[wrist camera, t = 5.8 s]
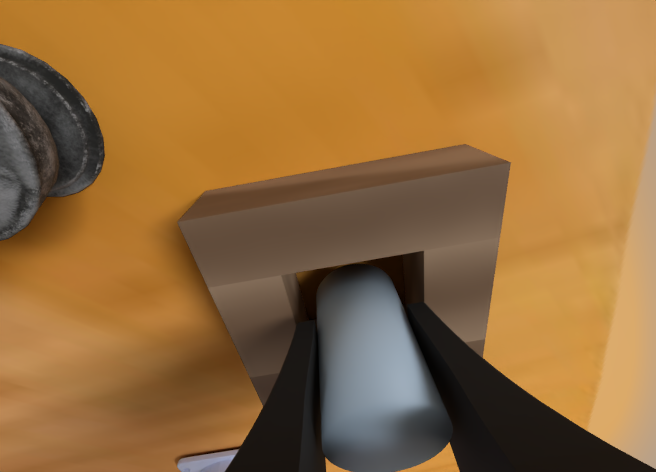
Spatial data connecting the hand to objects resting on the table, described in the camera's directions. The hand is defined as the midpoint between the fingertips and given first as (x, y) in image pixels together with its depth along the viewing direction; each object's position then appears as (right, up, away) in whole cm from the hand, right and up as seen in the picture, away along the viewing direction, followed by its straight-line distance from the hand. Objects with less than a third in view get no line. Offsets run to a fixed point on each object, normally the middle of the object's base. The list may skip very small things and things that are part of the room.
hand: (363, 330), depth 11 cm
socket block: (0, +2, +3) cm, 4 cm away
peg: (0, +1, +2) cm, 2 cm away
